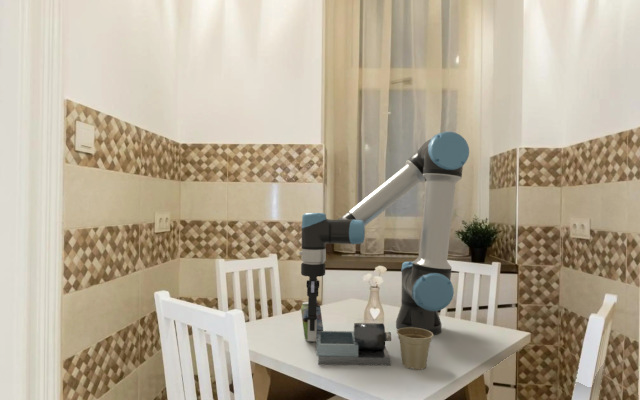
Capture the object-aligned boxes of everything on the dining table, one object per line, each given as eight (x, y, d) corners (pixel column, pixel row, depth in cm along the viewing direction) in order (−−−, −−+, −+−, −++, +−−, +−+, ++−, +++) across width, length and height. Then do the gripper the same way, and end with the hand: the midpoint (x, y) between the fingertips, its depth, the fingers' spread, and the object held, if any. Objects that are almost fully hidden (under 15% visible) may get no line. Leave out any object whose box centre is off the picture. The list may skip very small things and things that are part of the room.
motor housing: (386, 348, 121) (386, 317, 121) (394, 365, 108) (394, 331, 108) (316, 347, 121) (317, 316, 121) (316, 364, 108) (316, 330, 108)
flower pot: (439, 365, 109) (439, 332, 109) (422, 376, 102) (422, 340, 102) (407, 356, 115) (408, 325, 115) (389, 365, 108) (389, 332, 108)
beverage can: (321, 344, 124) (322, 304, 124) (298, 342, 125) (298, 302, 125) (325, 337, 130) (326, 299, 130) (303, 336, 131) (303, 298, 131)
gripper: (302, 258, 137) (301, 327, 137) (299, 267, 118) (298, 347, 118) (325, 258, 137) (324, 327, 137) (325, 267, 118) (324, 348, 118)
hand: (312, 336), depth 127 cm, fingers closed on beverage can, 6 cm apart
